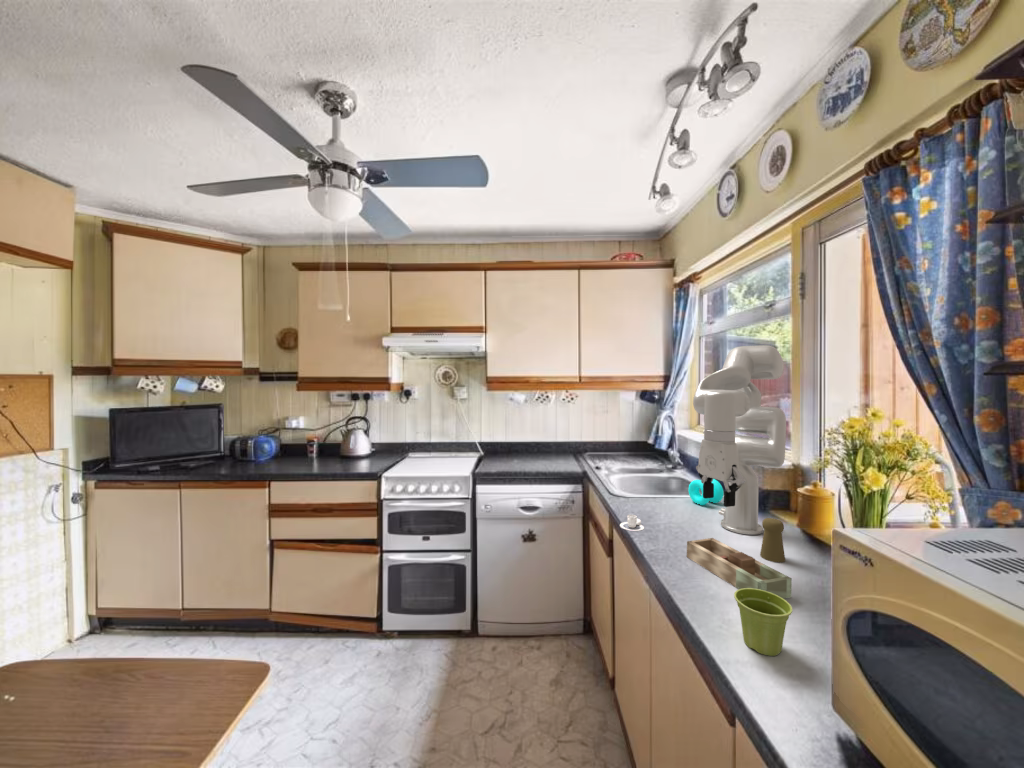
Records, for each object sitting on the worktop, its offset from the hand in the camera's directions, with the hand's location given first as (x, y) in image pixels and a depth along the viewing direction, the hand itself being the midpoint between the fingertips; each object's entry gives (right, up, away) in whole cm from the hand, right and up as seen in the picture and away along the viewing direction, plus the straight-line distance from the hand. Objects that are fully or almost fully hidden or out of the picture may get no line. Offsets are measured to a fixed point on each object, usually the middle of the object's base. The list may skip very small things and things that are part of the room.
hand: (718, 501), depth 107 cm
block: (+2, -16, -7) cm, 18 cm away
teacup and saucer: (-12, -18, +28) cm, 35 cm away
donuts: (+23, -17, +54) cm, 61 cm away
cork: (+18, -18, +5) cm, 26 cm away
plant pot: (-8, -18, -32) cm, 38 cm away
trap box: (+1, -18, -5) cm, 18 cm away
